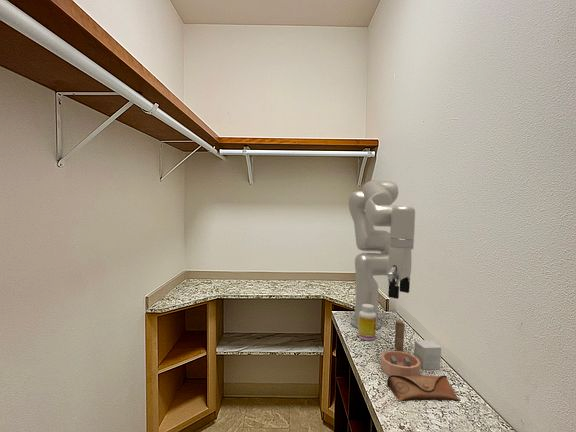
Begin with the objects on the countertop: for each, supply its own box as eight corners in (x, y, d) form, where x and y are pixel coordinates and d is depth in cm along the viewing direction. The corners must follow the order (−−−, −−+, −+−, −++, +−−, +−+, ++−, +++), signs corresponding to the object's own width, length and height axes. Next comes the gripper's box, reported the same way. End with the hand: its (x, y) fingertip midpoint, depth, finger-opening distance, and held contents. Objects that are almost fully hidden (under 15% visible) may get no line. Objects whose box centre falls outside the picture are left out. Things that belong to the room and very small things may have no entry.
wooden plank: (394, 346, 123) (395, 320, 123) (399, 346, 123) (401, 320, 123) (397, 351, 119) (398, 323, 119) (403, 351, 119) (404, 324, 119)
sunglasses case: (398, 401, 88) (394, 374, 91) (389, 401, 94) (385, 375, 97) (463, 401, 89) (456, 373, 93) (449, 401, 96) (444, 375, 99)
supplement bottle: (375, 342, 127) (377, 308, 127) (358, 340, 128) (359, 307, 128) (374, 335, 133) (376, 303, 133) (358, 333, 135) (359, 302, 134)
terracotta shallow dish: (377, 360, 112) (377, 349, 112) (412, 362, 111) (413, 351, 111) (385, 378, 100) (386, 366, 100) (425, 380, 99) (425, 368, 99)
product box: (413, 361, 112) (414, 339, 112) (429, 360, 113) (430, 339, 113) (423, 370, 106) (424, 347, 106) (440, 369, 107) (441, 347, 107)
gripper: (400, 240, 119) (397, 288, 120) (379, 244, 105) (377, 297, 106) (421, 243, 114) (419, 292, 115) (403, 247, 101) (400, 302, 101)
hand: (399, 294), depth 110 cm, fingers open, 9 cm apart
